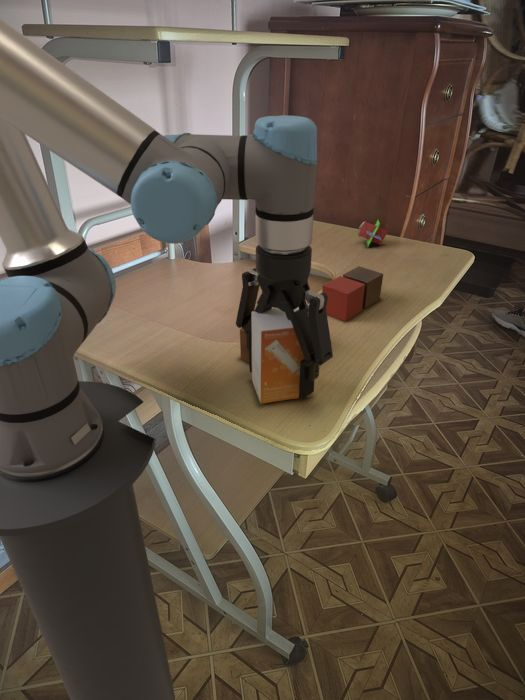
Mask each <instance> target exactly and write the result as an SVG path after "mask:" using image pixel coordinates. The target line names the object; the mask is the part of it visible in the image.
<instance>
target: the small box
mask: <svg viewBox="0 0 525 700" xmlns="http://www.w3.org/2000/svg"><path fill="white" fill-rule="evenodd" d="M298 309H299V307H298V308H296V309H294V312H295V311H297V310H298ZM308 316H309V315H308ZM312 353H313V352H312ZM304 359H305V358H304V355H303V352H302V350H301V347H300V344H299V342H298V339H297V336H296V333H295V331H294V328H293V325H292V323H291V321H290V320H288V319H287V316H286V314H285V312H283V311H281V310H280V309H279V308H272V309H270V310H268V311H266V312H263V313H258V312H255V311H252V373H251V380H252V384H253V387H254V389H255V392H256V395H257V398H258V401H259V402H260V405H261V404H262V405H263V404H267V403H273V402H282V401H287V400H294V399H295V400H296V399H300V398H299V382H300V361H302V360H304ZM310 396H311V394H310V395H308V396H307V397H306V398H309V397H310Z"/></svg>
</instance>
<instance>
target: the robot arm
mask: <svg viewBox="0 0 525 700" xmlns="http://www.w3.org/2000/svg"><path fill="white" fill-rule="evenodd" d="M28 137H29V138H30V139H32V140H33V141H35V142H36V143H38V144H40V145H41V146H43V147H44V148H45V149H46V150H49V151H50V152H51V153H53V154H54V155H56V156H58V157H59V158H61V159H62V160H64V161H65V162H67V163H68V164H69V165H71V166H73V167H74V168H75V169H77V170H78V171H80V172H81V173H83V174H85V175H86V176H88V177H89V178H90V179H92V180H94V181H95V182H97V183H98V184H100V185H101V186H102V187H104V188H106V189H107V190H108V191H110V192H111V193H113V194H115V195H116V196H118V197H119V198H121V199H122V200H123V201H125V202H126V203H128V204H129V205H130V208H131V212H132V215H133V217H134V219H135V221H136V222H137V224H138V226H139V227H140V229H141V230H142V231H143V232H144V233H145V234H146V235H148V237H150V238H152V239H154V240H156V241H158V242H160V243H161V242H162V243H164V244H174V245H175V244H181V243H182V244H183V243H185V242H188V241H191V240H192V239H194V238H195V237H196V236H198V235H199V234H200V232H201V231H202V230H203V229H204V228H205V227H206V226H207V225H209V224H210V223H211V221H212V220H213V218H214V217H215V215H216V211H217V208H218V207H219V205H220V204H221V202H222V201H223V200H232V201H233V200H234V201H235V200H239V201H248V200H253V201H254V202H255V212H254V213H255V234H254V235H255V236H254V237H255V243H256V244H257V245H256V247H255V267H253V268H252V269H248V270H247V271H244V272H243V273H241V281H242V289H241V294H240V299H239V305H238V309H237V313H236V319H235V326H236V327H237V328H239V329H241V328H243V329H244V332H245V334H246V338H247V350H248V351H249V363H248V364H249V373H251V374H252V311H255V312H258V313H263V312H266V311H268V310H270V309H275V308H279V309H280V310H281V311H283V312H285V314H286V316H287V319H288V320H290V321H291V323H292V325H293V328H294V331H295V333H296V336H297V339H298V342H299V344H300V347H301V350H302V352H303V355H304V358H305V359H304V360H302V361H300V382H299V398H298V399H301V400H302V401H303V400H304V399H306V398H308V397H307V396H308V395H310V396H311V394H313V393H314V391H315V380H317V379H318V378H319V376H320V367H321V366H322V365H324V364H325V363H326V362H328V361H330V360H331V359H332V358H333V356H334V353H333V347H332V340H331V339H332V338H331V333H330V328H329V320H328V315H327V312H326V306H327V300H328V296H327V294H326V293H324V292H323V293H322V292H320V293H317V292H315V291H313V290H311V287H310V284H309V277H310V274H311V271H312V258H313V257H312V256H313V255H312V254H313V248H312V247H311V244H312V243H313V235H314V234H313V230H314V214H315V213H314V212H315V197H316V184H317V182H316V181H317V168H318V127H317V125H316V124H315V121H313V119H311V118H309V117H306V116H300V115H268V116H267V115H266V116H261V117H259V118H258V119H256V121H255V122H254V130H253V131H252V134H247V135H231V134H229V135H226V134H224V135H222V134H196V133H195V134H194V133H193V134H192V133H190V132H184V133H182V134H181V133H180V134H165V135H162V133H160V132H159V131H158V130H156V129H155V128H153V126H151V125H150V124H149V123H147V122H145V121H144V120H143V119H141V118H140V117H138V116H137V115H135V114H134V113H133V112H131V111H130V110H129V109H127V108H126V107H124V106H123V105H122V104H120V103H118V102H117V101H116V100H115V99H113V98H112V97H111V96H109V95H107V94H106V93H105V92H104V91H102V90H100V89H99V88H98V87H96V85H94V84H92V83H91V82H89V81H88V80H87V79H85V78H84V77H83V76H81V75H79V74H78V73H77V72H75V71H74V70H72V69H71V68H70V67H68V66H66V65H65V64H64V63H63V62H61V61H60V60H58V59H57V58H56V57H54V56H53V55H52V54H50V53H48V51H46V50H45V49H43V48H42V47H40V46H39V45H37V44H36V43H34V42H33V41H32V40H30V39H29V38H28V37H26V36H25V35H23V34H22V33H20V32H19V31H18V30H16V29H15V28H14V27H12V26H11V25H9V23H7V22H5V21H4V20H2V19H1V18H0V239H1V241H2V243H3V245H4V247H5V249H6V252H5V254H4V257H3V260H2V263H1V265H2V268H3V270H4V272H5V273H6V276H7V277H5V278H4V277H3V278H1V279H0V475H1V476H3V477H5V478H7V479H10V480H13V481H19V482H37V481H44V480H49V479H52V478H56V477H59V476H62V475H64V474H67V473H69V472H71V471H73V470H74V469H76V468H78V467H80V466H81V465H83V464H84V463H85V462H87V461H88V460H89V459H90V458H91V457H92V456H93V455H94V454H95V453H96V452H97V450H98V449H99V447H100V445H101V444H102V441H103V438H104V428H103V423H102V419H101V416H100V415H99V413H98V411H97V410H96V408H95V407H94V406H93V404H92V403H91V401H90V400H89V399H88V397H87V396H86V395H85V393H84V392H83V390H82V389H81V388H80V384H79V381H80V380H79V376H78V372H77V369H76V363H75V360H74V358H75V357H74V356H75V355H76V353H77V351H78V350H79V349H80V347H81V346H82V345H83V343H84V342H85V341H86V340H87V338H88V337H89V336H90V335H91V333H92V332H93V331H94V329H95V328H96V326H97V325H98V324H100V323H101V322H102V321H103V320H104V319H105V317H106V316H107V314H108V312H109V311H110V308H111V307H112V306H111V305H112V304H113V302H114V299H115V296H116V291H117V283H116V277H115V274H114V271H113V269H112V266H110V264H109V262H108V261H107V260H106V258H105V257H104V256H103V255H102V254H100V253H97V252H95V250H94V249H93V248H91V247H89V246H88V244H87V242H86V239H85V237H84V236H83V234H81V233H78V232H76V231H73V230H71V229H70V228H69V227H68V226H67V224H66V222H65V220H64V218H63V215H62V212H61V210H60V208H59V206H58V204H57V201H56V200H55V197H54V195H53V193H52V191H51V188H50V186H49V184H48V182H47V179H46V177H45V175H44V173H43V171H42V168H41V166H40V164H39V162H38V159H37V157H36V155H35V153H34V151H33V148H32V146H31V144H30V141H29V139H28ZM260 289H261V294H260V296H259V298H258V294H259V291H260ZM298 307H299V309H298V310H297V311H295V312H294V309H296V308H298ZM308 315H309V316H308ZM312 352H313V353H312Z"/></svg>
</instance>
